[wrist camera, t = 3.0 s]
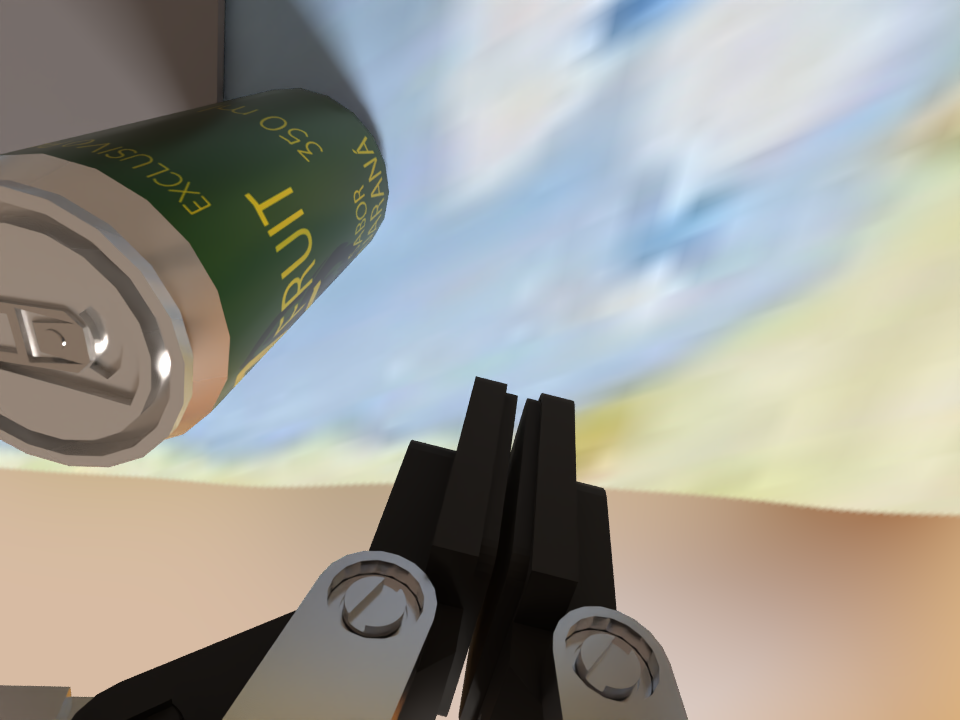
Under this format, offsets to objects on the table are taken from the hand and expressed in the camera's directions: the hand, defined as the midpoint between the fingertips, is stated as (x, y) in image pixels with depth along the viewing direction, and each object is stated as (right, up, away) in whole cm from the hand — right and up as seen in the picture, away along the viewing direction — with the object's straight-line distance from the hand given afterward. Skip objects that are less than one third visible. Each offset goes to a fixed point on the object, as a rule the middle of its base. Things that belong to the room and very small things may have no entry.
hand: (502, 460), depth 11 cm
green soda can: (-6, +8, +10) cm, 14 cm away
